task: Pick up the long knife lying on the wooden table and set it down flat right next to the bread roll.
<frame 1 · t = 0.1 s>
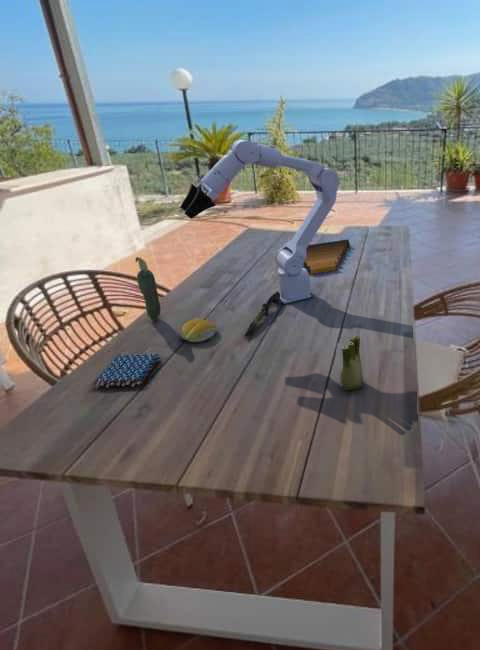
hand: (185, 212, 103), 32 cm above the table, tool tilted 50°, fingers open, 7 cm apart
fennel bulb: (351, 386, 87), on the table
woven mat: (129, 373, 91), on the table
knife: (263, 319, 114), on the table
vegetable: (155, 321, 113), on the table
bread roll: (199, 335, 106), on the table
pan flute: (330, 259, 159), on the table
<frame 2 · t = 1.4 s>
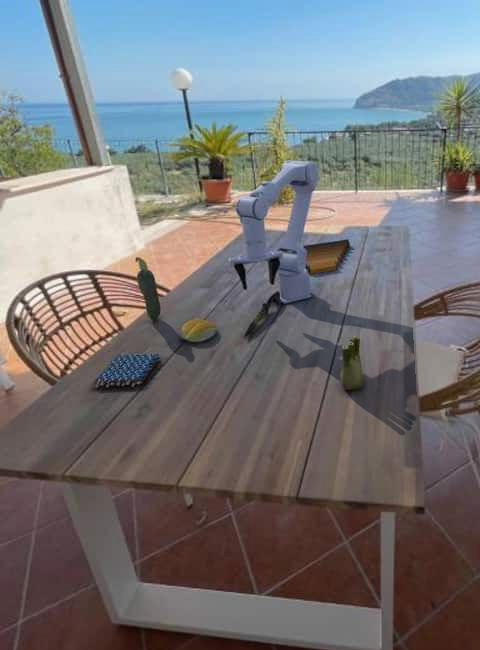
hand: (258, 285, 110), 11 cm above the table, tool pointing down, fingers open, 7 cm apart
nothing on the table moved.
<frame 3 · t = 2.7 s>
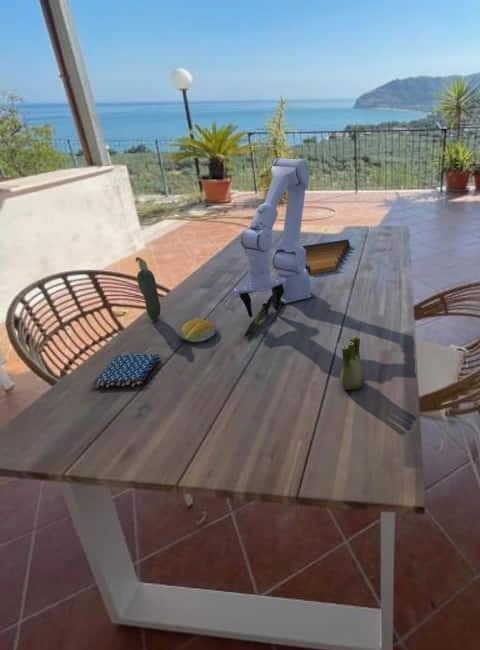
hand: (263, 312, 114), 2 cm above the table, tool pointing down, fingers open, 7 cm apart
nothing on the table moved.
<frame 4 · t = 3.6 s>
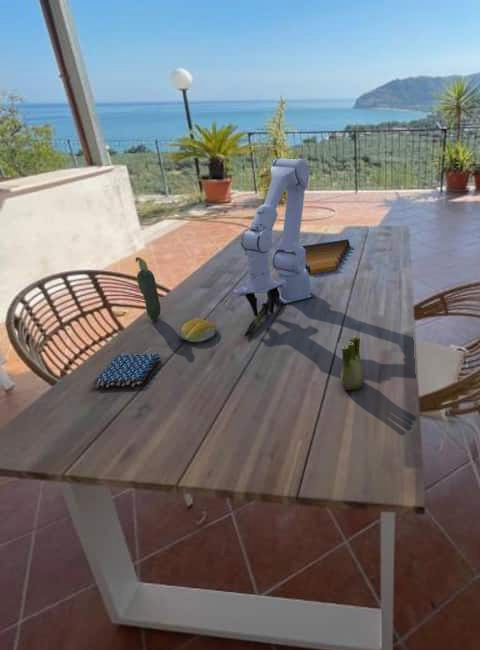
hand: (263, 313, 114), 1 cm above the table, tool pointing down, fingers closed on knife, 4 cm apart
knife: (263, 319, 114), on the table, touching gripper
everything else where it was.
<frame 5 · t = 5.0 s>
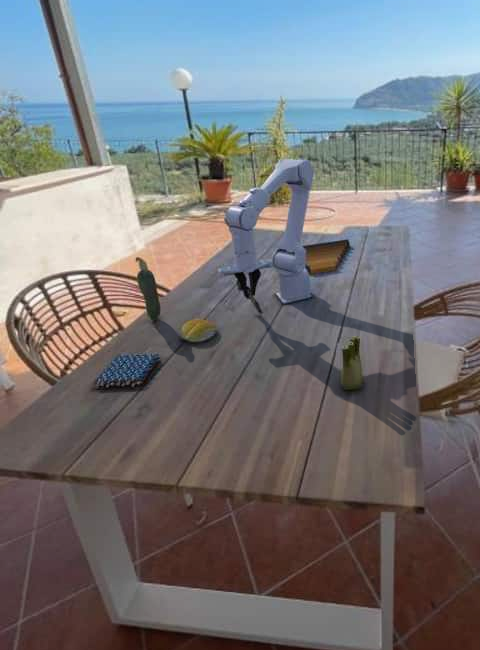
hand: (249, 295, 110), 8 cm above the table, tool pointing down, fingers closed on knife
knife: (250, 302, 111), point 6 cm above the table, touching gripper
everything else where it was.
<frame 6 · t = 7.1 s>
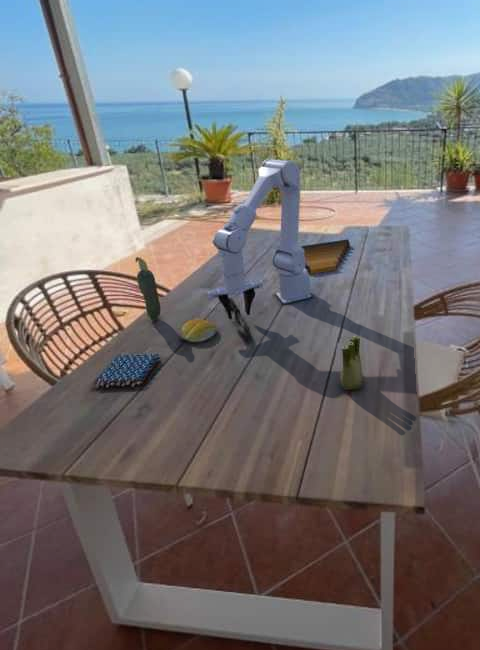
hand: (239, 315, 110), 3 cm above the table, tool pointing down, fingers open, 4 cm apart
knife: (240, 325, 111), on the table
everything else where it was.
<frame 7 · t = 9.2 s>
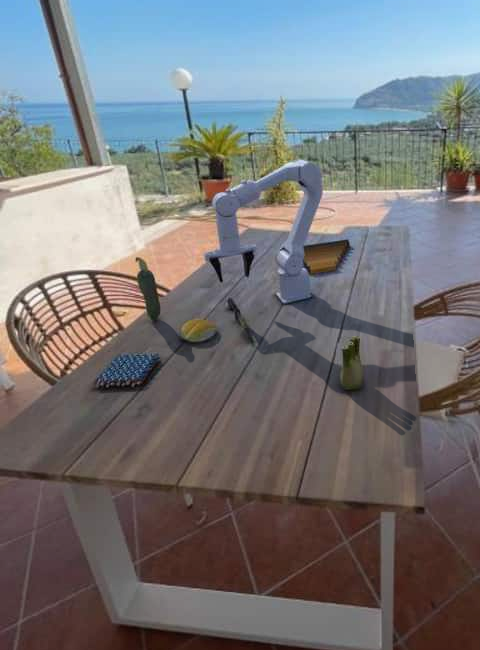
hand: (234, 278, 116), 10 cm above the table, tool pointing down, fingers open, 7 cm apart
nothing on the table moved.
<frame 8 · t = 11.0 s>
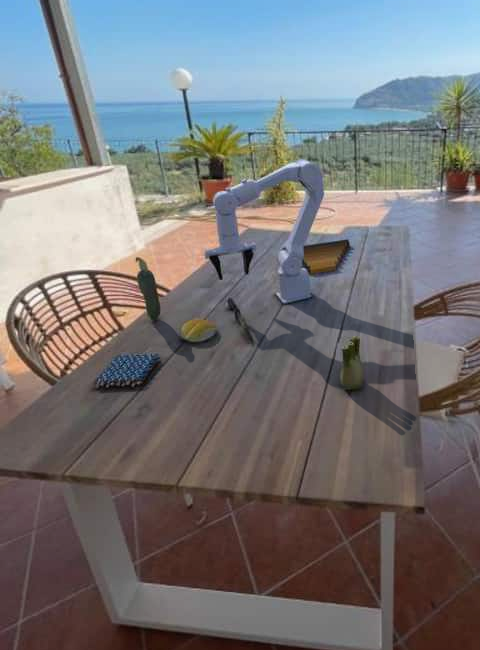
hand: (233, 276, 117), 10 cm above the table, tool pointing down, fingers open, 7 cm apart
nothing on the table moved.
at the end: knife 11.0 cm from the bread roll (horizontally); knife moved 7.0 cm from its start; knife on the table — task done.
